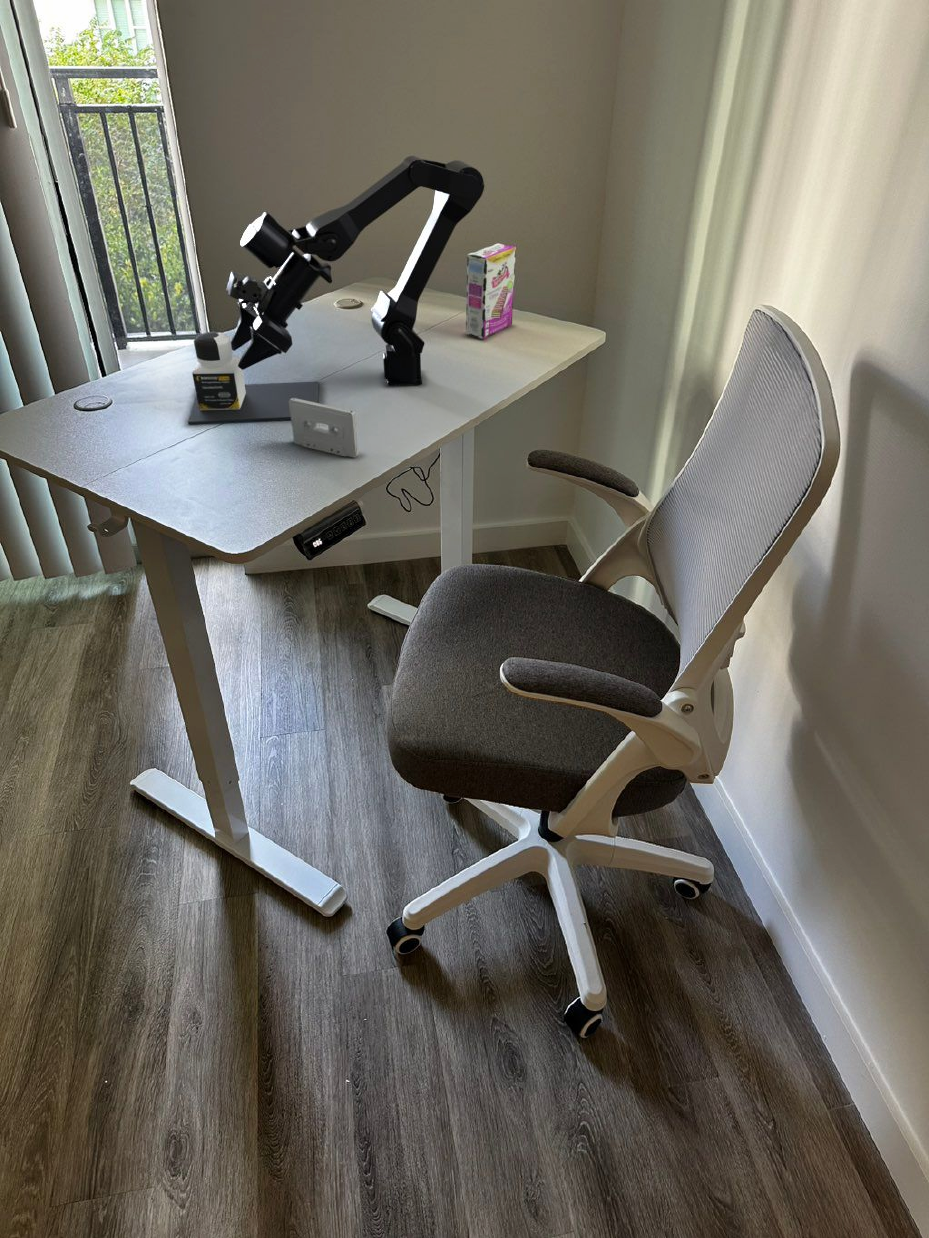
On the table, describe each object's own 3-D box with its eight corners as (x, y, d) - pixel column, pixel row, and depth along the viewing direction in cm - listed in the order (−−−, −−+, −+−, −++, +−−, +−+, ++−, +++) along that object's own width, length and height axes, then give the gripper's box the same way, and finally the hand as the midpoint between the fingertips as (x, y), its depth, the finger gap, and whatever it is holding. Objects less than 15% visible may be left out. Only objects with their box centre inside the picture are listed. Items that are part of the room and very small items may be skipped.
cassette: (360, 454, 138) (357, 410, 133) (354, 459, 137) (350, 414, 132) (298, 439, 142) (293, 396, 137) (292, 444, 141) (286, 400, 136)
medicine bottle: (199, 411, 149) (185, 343, 142) (206, 394, 155) (194, 328, 148) (240, 410, 150) (228, 343, 142) (246, 393, 155) (235, 327, 148)
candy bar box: (484, 340, 178) (486, 258, 168) (465, 335, 181) (465, 254, 170) (514, 325, 185) (517, 245, 175) (494, 321, 188) (496, 241, 178)
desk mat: (319, 384, 160) (318, 381, 160) (318, 418, 149) (317, 415, 148) (199, 389, 158) (198, 386, 158) (188, 425, 146) (187, 421, 146)
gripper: (241, 239, 147) (188, 312, 150) (261, 270, 133) (203, 349, 137) (292, 281, 154) (241, 350, 158) (317, 314, 140) (259, 388, 144)
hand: (235, 358), depth 149 cm, fingers open, 9 cm apart
